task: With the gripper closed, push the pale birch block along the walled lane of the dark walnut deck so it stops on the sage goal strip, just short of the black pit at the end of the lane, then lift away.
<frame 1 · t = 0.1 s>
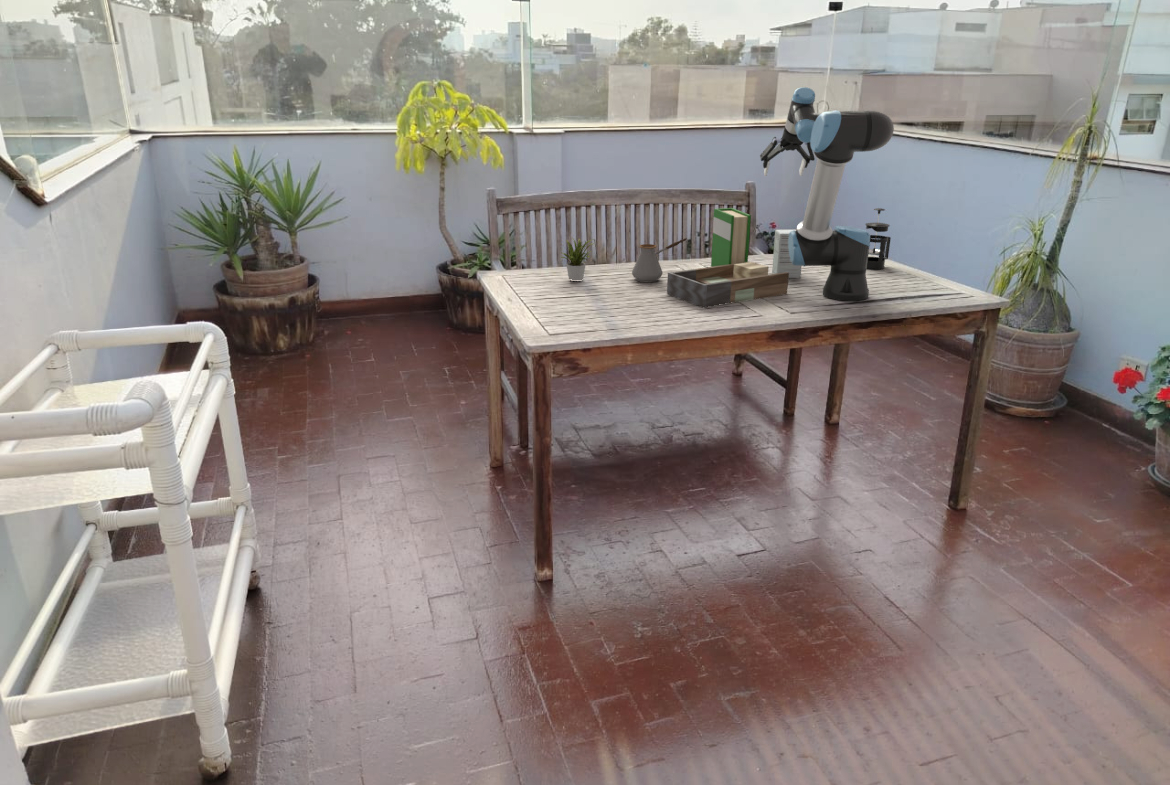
hand: (782, 173, 307), 36 cm above the table, tool tilted 35°, fingers open, 13 cm apart
hardback book: (728, 276, 305), on the table
house plant: (579, 281, 298), on the table
supplement box: (785, 276, 304), on the table
birch block: (750, 279, 282), point 4 cm above the table, touching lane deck
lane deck: (735, 292, 280), on the table
coffee pot: (659, 279, 300), on the table
french press: (873, 267, 317), on the table
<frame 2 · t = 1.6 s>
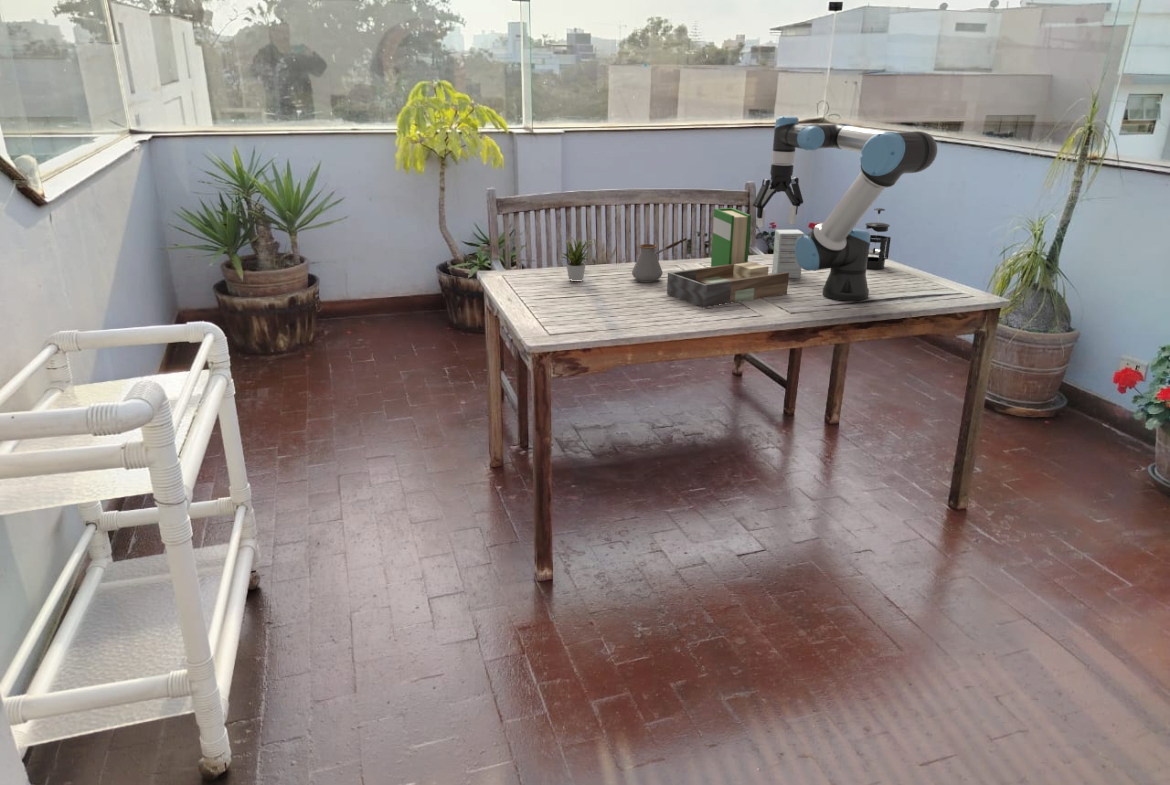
hand: (775, 225, 283), 21 cm above the table, tool pointing down, fingers open, 13 cm apart
nothing on the table moved.
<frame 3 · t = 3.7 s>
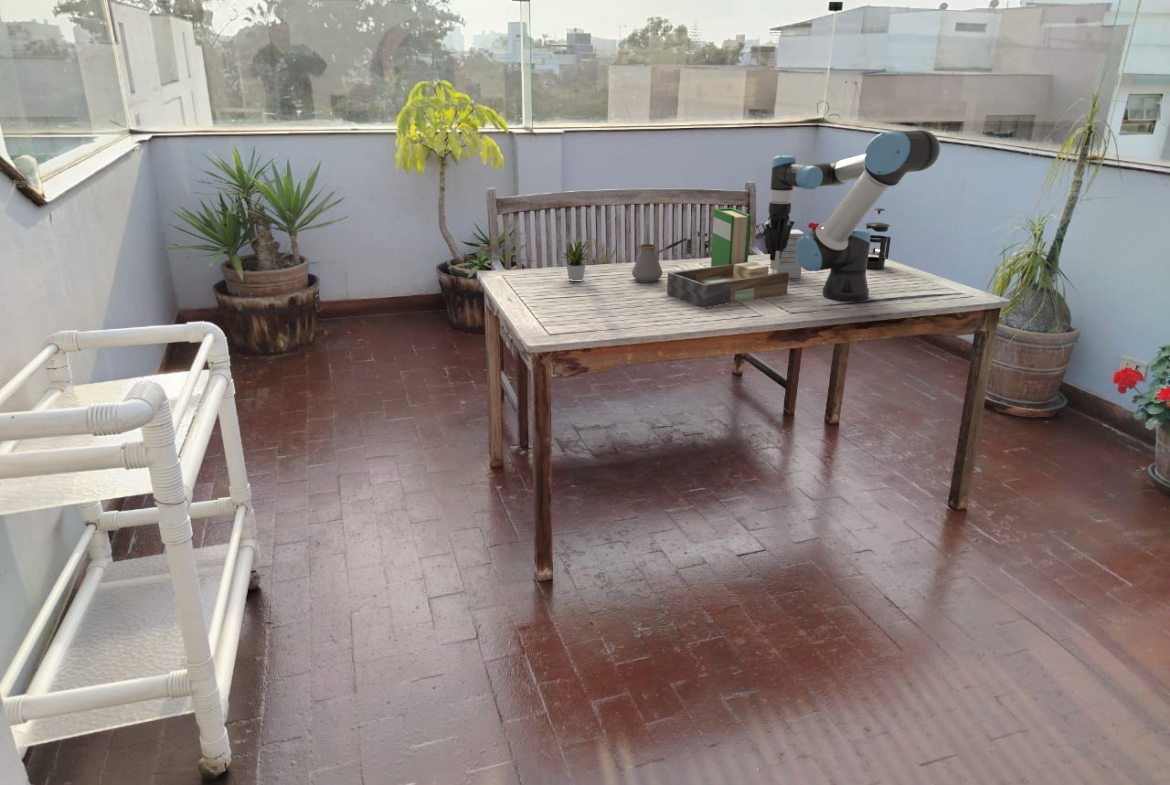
hand: (774, 268, 286), 6 cm above the table, tool pointing down, fingers closed
nothing on the table moved.
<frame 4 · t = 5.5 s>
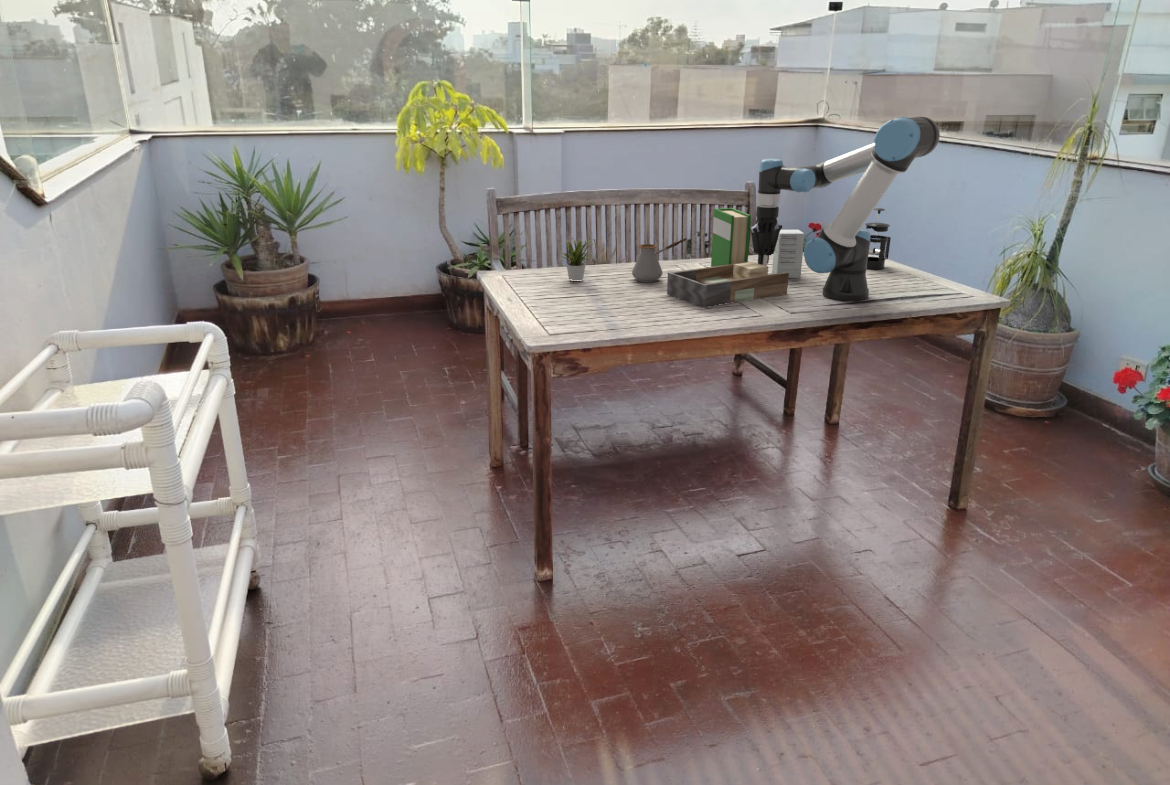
hand: (762, 273, 284), 6 cm above the table, tool pointing down, fingers closed
birch block: (749, 279, 282), point 4 cm above the table, touching gripper, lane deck
everything else where it was.
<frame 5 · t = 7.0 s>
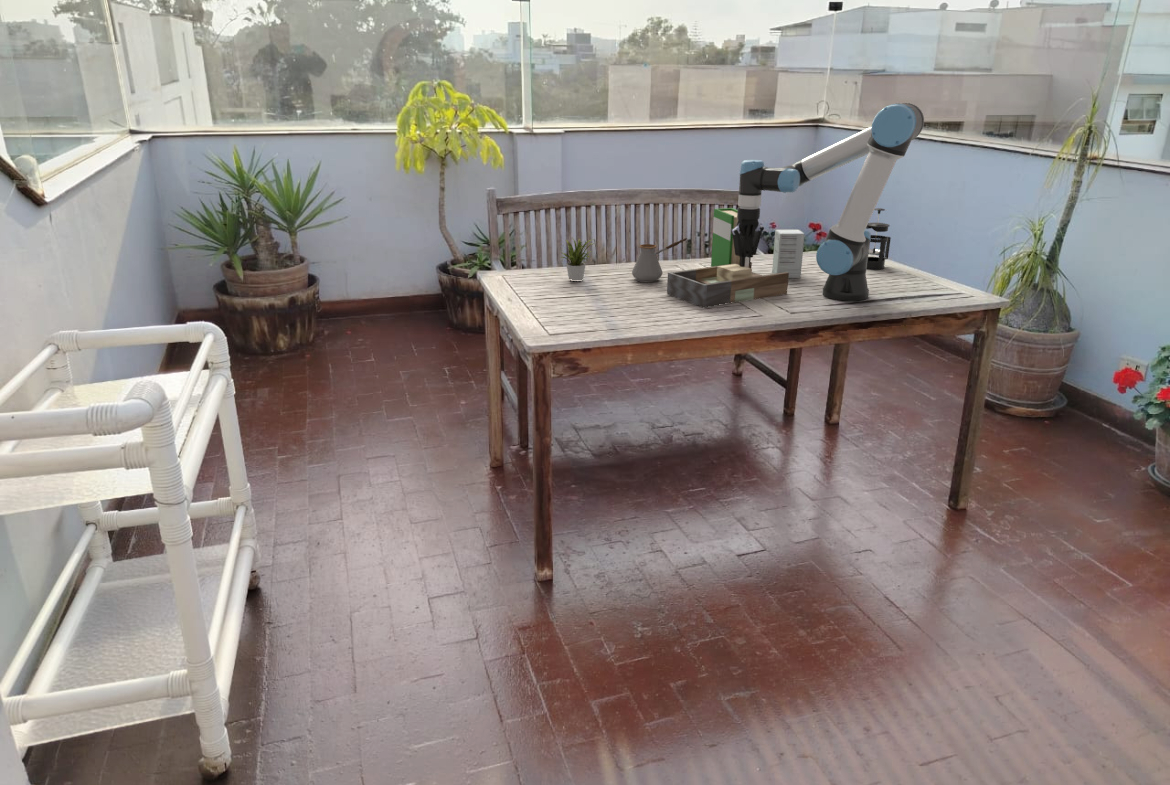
hand: (744, 275, 280), 6 cm above the table, tool pointing down, fingers closed
birch block: (733, 281, 278), point 4 cm above the table, touching gripper
everything else where it was.
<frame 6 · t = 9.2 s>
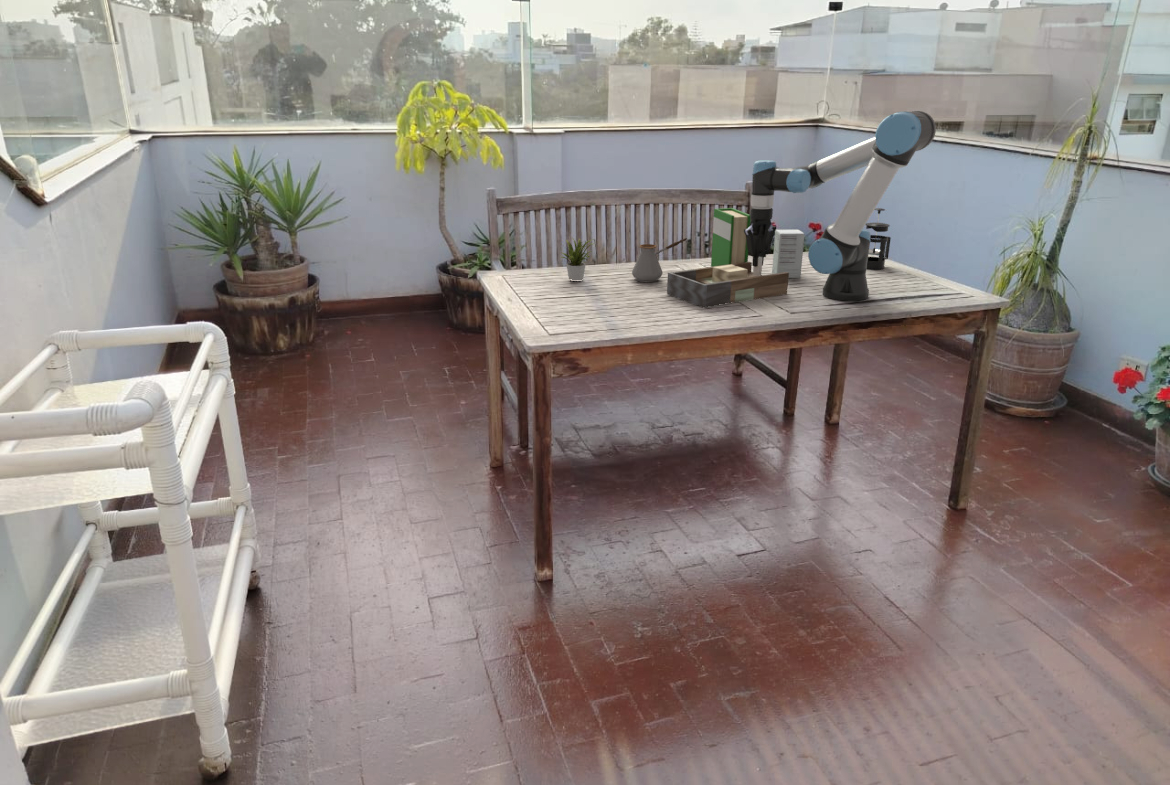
hand: (757, 275, 282), 5 cm above the table, tool pointing down, fingers closed
birch block: (729, 282, 278), point 4 cm above the table, touching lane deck
everything else where it was.
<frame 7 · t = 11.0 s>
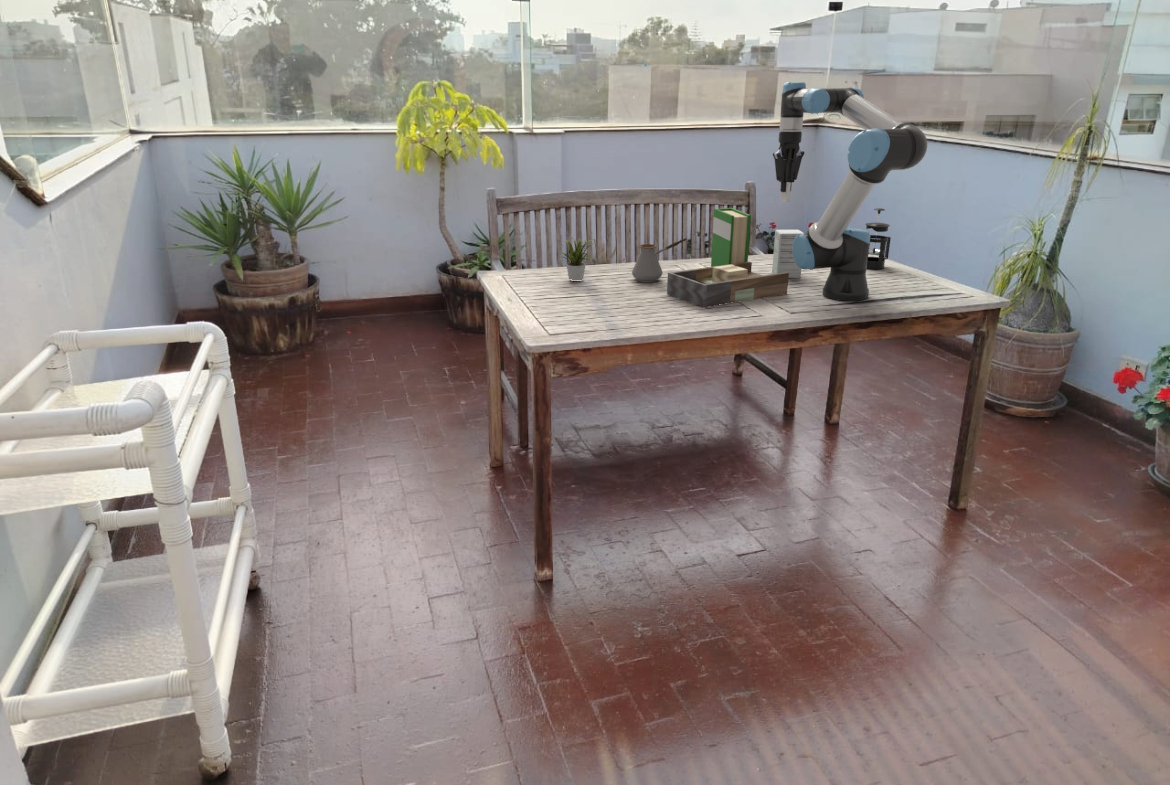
hand: (784, 201, 280), 30 cm above the table, tool pointing down, fingers closed
nothing on the table moved.
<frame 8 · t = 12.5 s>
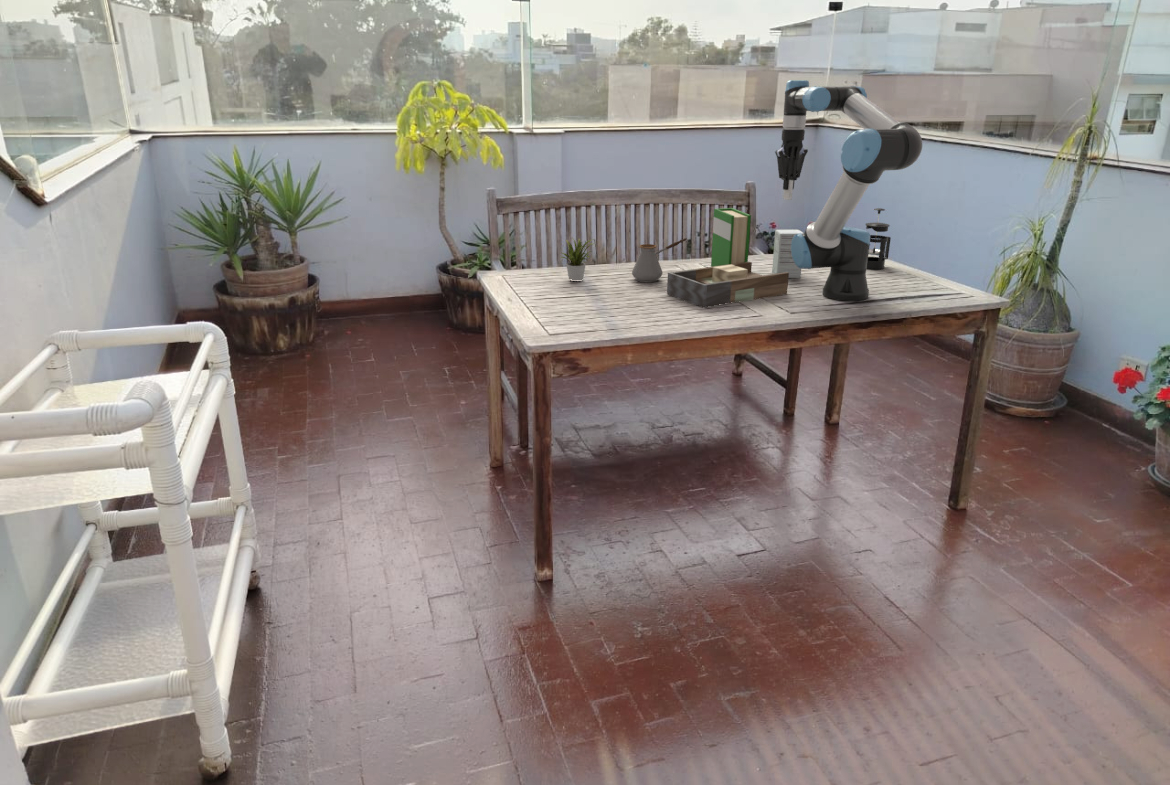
hand: (787, 199, 281), 30 cm above the table, tool pointing down, fingers closed
nothing on the table moved.
at the end: birch block inside the target area (2.3 cm from its centre), point 4.0 cm above the table; birch block tilted 0° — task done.
